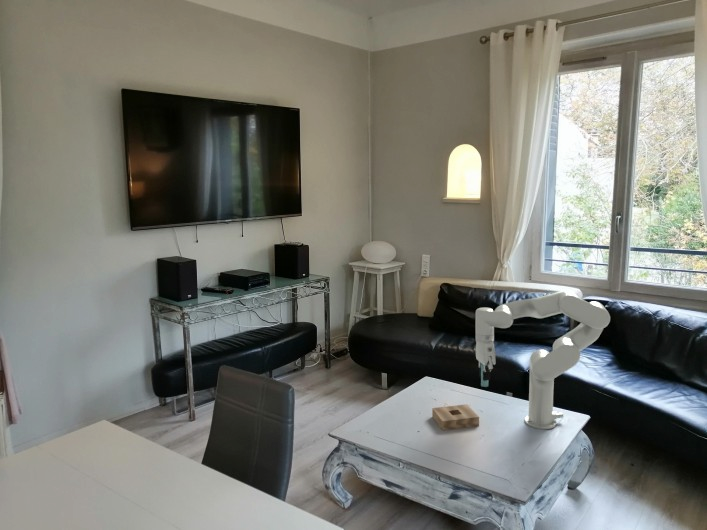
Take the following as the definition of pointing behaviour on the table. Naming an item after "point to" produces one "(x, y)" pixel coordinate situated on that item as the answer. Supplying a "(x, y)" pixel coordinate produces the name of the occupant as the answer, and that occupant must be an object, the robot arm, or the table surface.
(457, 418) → the hole block
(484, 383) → the peg
